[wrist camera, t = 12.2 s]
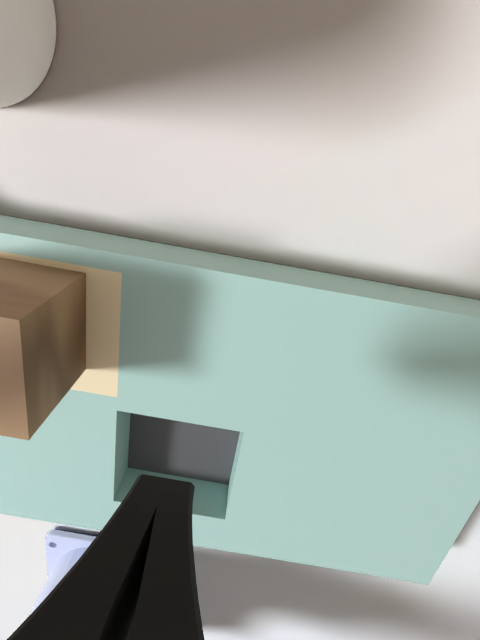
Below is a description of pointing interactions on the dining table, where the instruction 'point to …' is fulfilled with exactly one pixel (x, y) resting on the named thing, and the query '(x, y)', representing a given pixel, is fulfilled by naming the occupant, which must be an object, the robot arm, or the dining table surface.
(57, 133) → the dining table surface
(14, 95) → the mug
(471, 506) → the board
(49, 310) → the walnut block
